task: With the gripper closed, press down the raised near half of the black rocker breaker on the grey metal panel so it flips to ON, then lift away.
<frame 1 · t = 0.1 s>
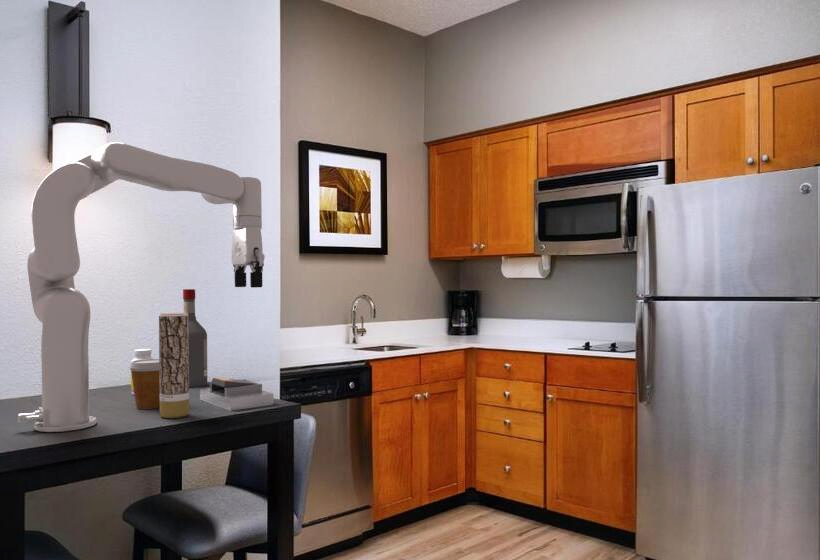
hand: (248, 287, 180), 31 cm above the table, tool pointing down, fingers open, 9 cm apart
paper tube: (174, 416, 163), on the table
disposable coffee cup: (149, 407, 175), on the table
liquor: (190, 385, 209), on the table
breaker panel: (235, 402, 180), on the table
breaker rocker: (235, 383, 180), point 5 cm above the table, hinge at 10.0°
supplement bottle: (143, 394, 194), on the table
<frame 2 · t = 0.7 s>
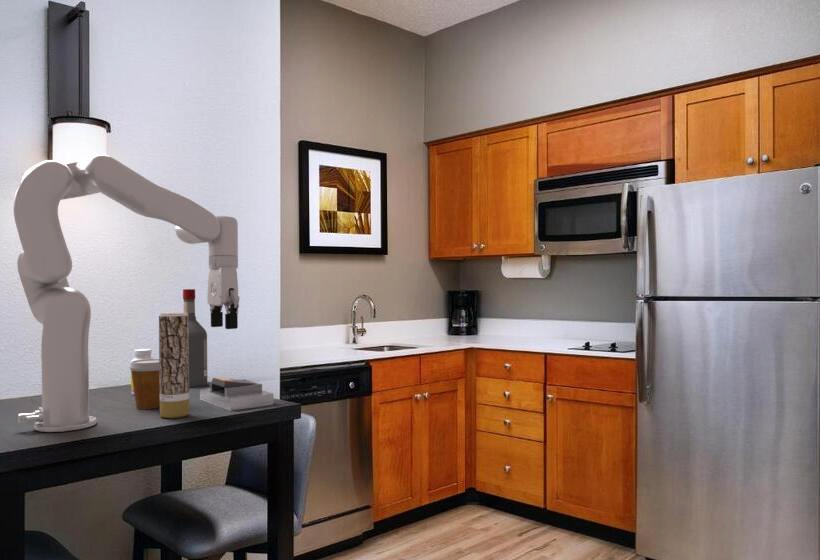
hand: (223, 327, 178), 20 cm above the table, tool pointing down, fingers open, 9 cm apart
nothing on the table moved.
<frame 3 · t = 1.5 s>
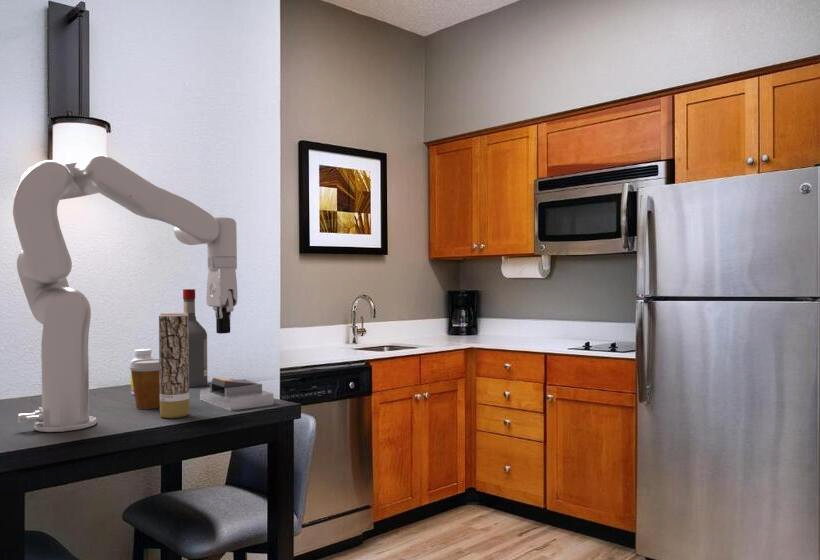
hand: (223, 332, 178), 19 cm above the table, tool pointing down, fingers closed
nothing on the table moved.
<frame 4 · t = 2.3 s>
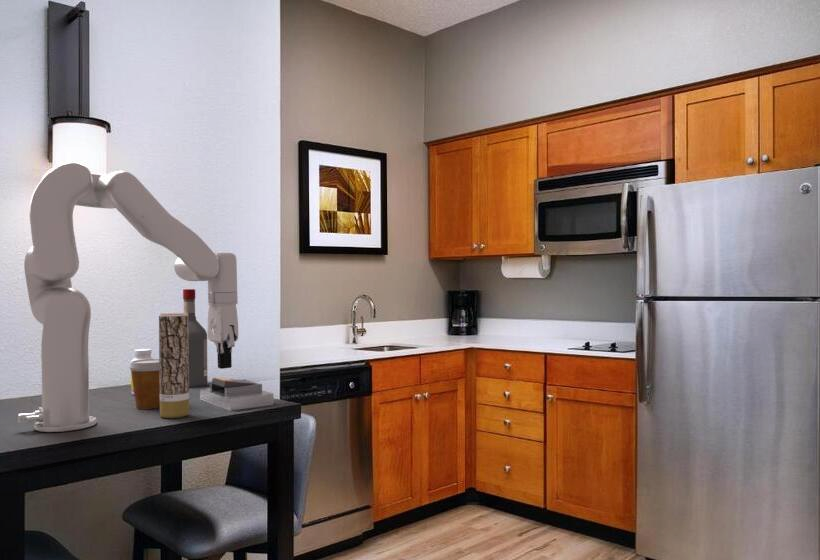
hand: (224, 367, 178), 10 cm above the table, tool pointing down, fingers closed
nothing on the table moved.
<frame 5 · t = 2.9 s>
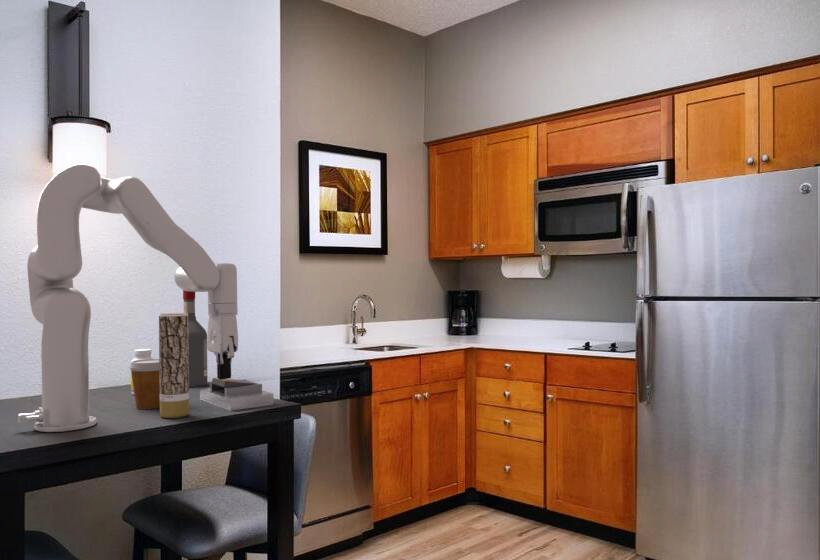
hand: (224, 378, 178), 7 cm above the table, tool pointing down, fingers closed
breaker rocker: (235, 383, 180), point 5 cm above the table, hinge at 10.0°, touching gripper
everything else where it was.
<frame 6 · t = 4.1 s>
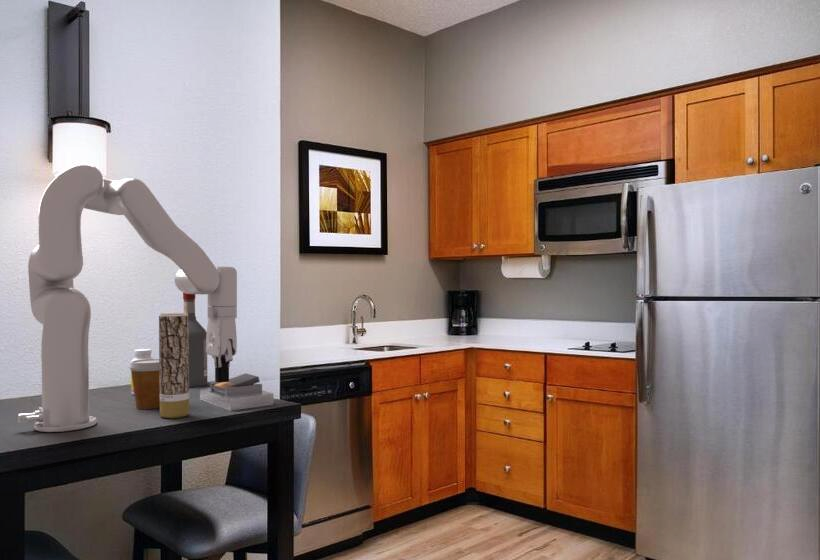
hand: (222, 381, 178), 6 cm above the table, tool pointing down, fingers closed
breaker rocker: (235, 383, 180), point 5 cm above the table, hinge at -13.4°
everything else where it was.
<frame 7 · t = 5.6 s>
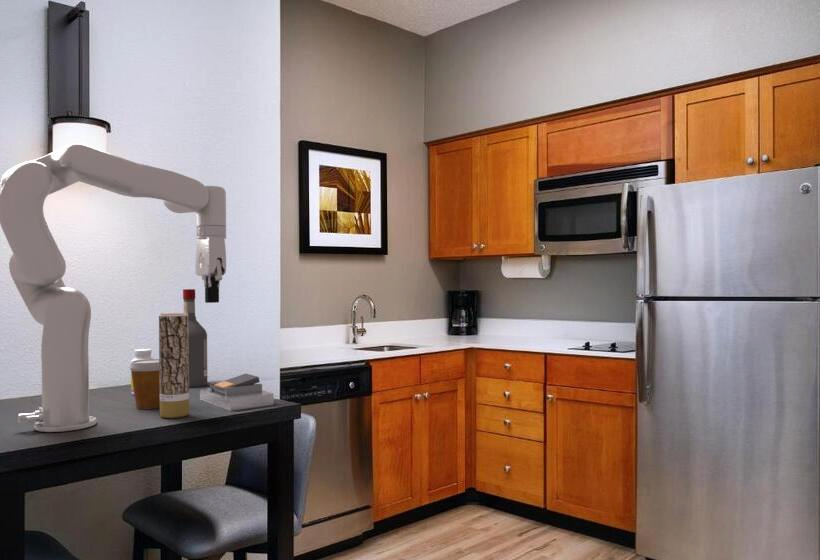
hand: (212, 302, 177), 27 cm above the table, tool pointing down, fingers closed
breaker rocker: (235, 383, 180), point 5 cm above the table, hinge at -12.8°
everything else where it was.
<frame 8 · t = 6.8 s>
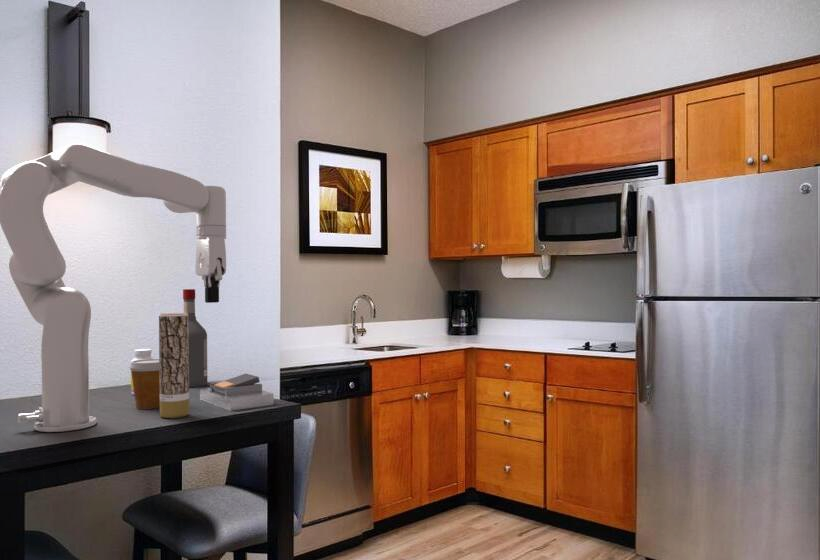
hand: (212, 302, 177), 27 cm above the table, tool pointing down, fingers closed
nothing on the table moved.
at the end: breaker rocker at -13° (first picture: +10°); paper tube moved 0.2 cm from its start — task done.
